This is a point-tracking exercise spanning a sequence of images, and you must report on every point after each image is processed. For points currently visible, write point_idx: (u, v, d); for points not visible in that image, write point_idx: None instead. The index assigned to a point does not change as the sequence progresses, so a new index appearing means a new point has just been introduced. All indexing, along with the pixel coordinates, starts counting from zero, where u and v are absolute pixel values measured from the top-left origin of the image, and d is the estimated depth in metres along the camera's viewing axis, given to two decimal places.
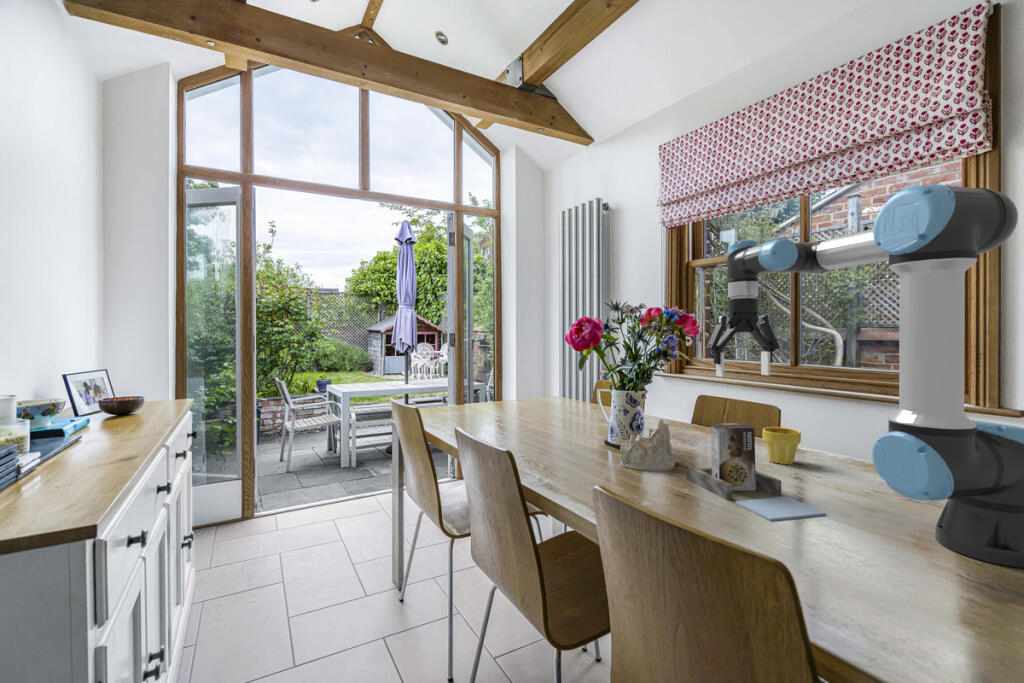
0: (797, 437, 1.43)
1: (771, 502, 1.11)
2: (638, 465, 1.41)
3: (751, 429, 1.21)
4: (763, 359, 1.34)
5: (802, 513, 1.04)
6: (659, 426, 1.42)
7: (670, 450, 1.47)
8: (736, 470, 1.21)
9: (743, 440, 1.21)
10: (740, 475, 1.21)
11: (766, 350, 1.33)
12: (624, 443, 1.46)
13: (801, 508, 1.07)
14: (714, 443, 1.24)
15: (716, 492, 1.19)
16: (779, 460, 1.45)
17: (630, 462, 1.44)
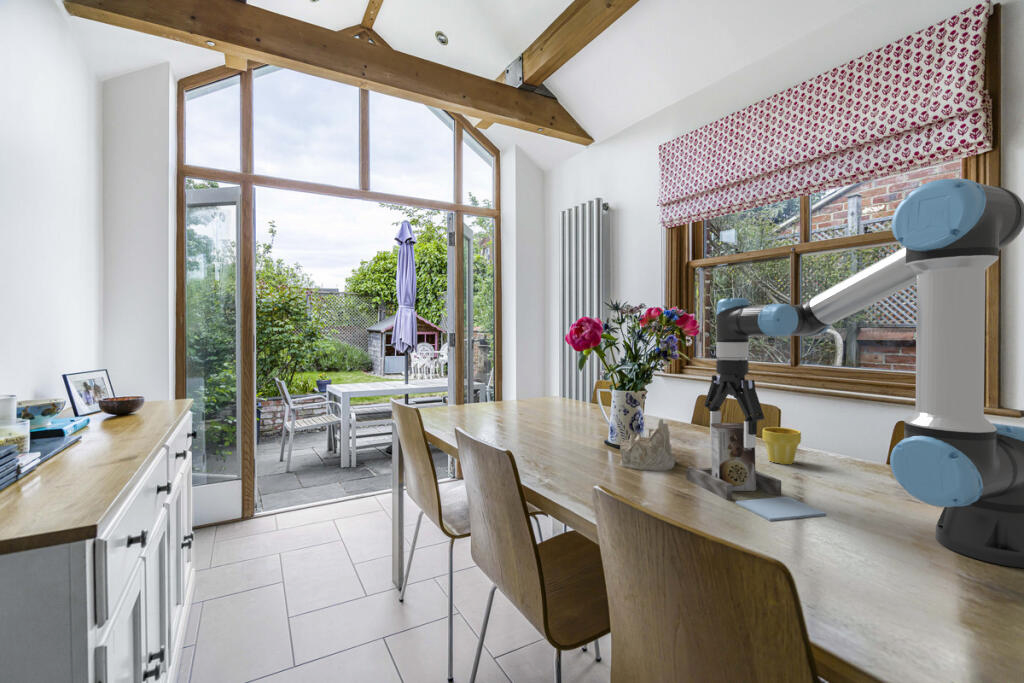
0: (797, 437, 1.43)
1: (771, 502, 1.11)
2: (638, 465, 1.42)
3: None
4: None
5: (802, 513, 1.04)
6: (659, 426, 1.43)
7: (670, 450, 1.47)
8: (736, 470, 1.21)
9: (743, 440, 1.21)
10: (740, 475, 1.21)
11: None
12: (624, 443, 1.47)
13: (801, 508, 1.07)
14: (714, 443, 1.24)
15: (716, 492, 1.19)
16: (779, 460, 1.45)
17: (630, 461, 1.44)
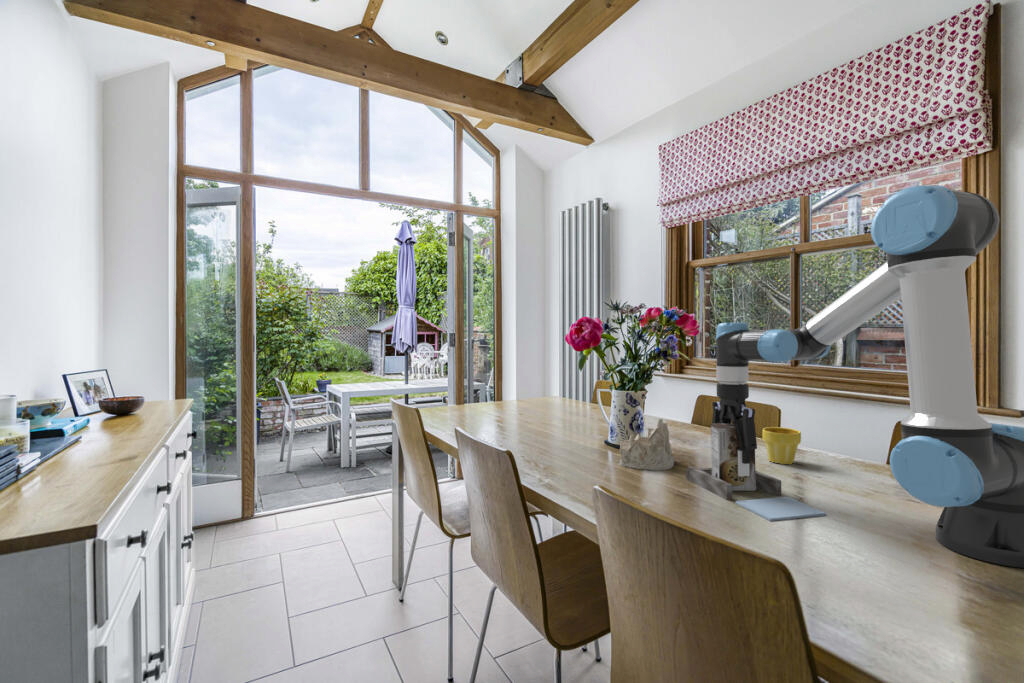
0: (797, 437, 1.43)
1: (771, 502, 1.11)
2: (637, 464, 1.42)
3: None
4: None
5: (802, 513, 1.04)
6: (658, 425, 1.43)
7: (669, 449, 1.48)
8: (736, 470, 1.21)
9: None
10: None
11: None
12: (623, 442, 1.47)
13: (801, 508, 1.07)
14: (714, 443, 1.24)
15: (716, 492, 1.19)
16: (779, 460, 1.45)
17: (629, 461, 1.44)
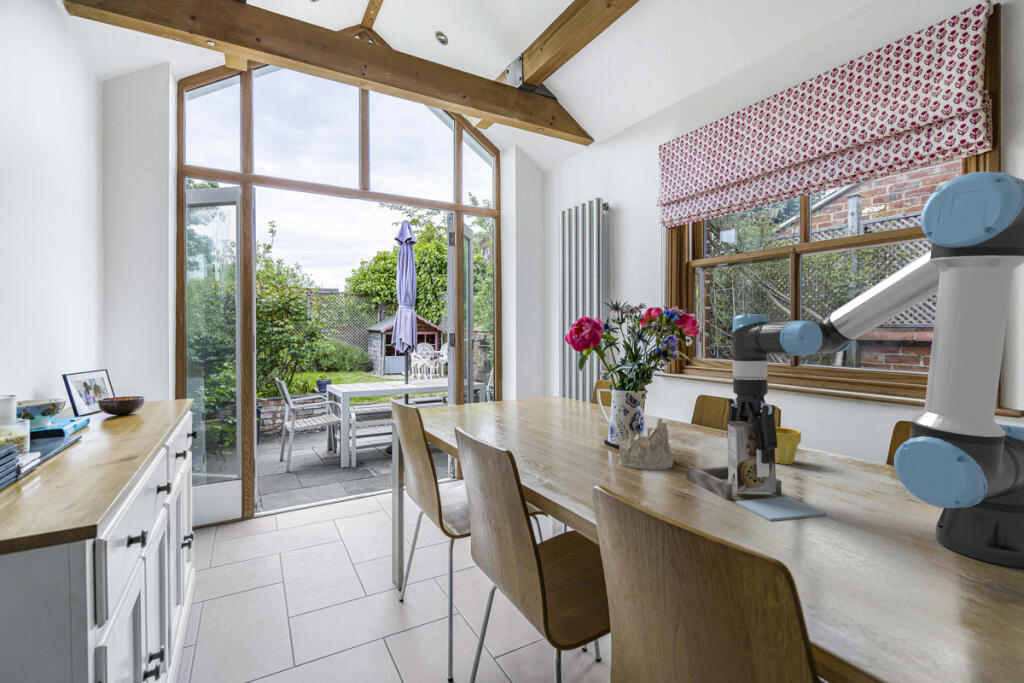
0: (797, 437, 1.43)
1: (771, 502, 1.11)
2: (637, 464, 1.43)
3: None
4: None
5: (802, 513, 1.04)
6: (658, 425, 1.44)
7: (668, 449, 1.48)
8: (755, 470, 1.14)
9: None
10: None
11: None
12: (623, 442, 1.48)
13: (801, 508, 1.07)
14: (731, 442, 1.18)
15: (716, 492, 1.19)
16: (779, 460, 1.45)
17: (629, 460, 1.45)
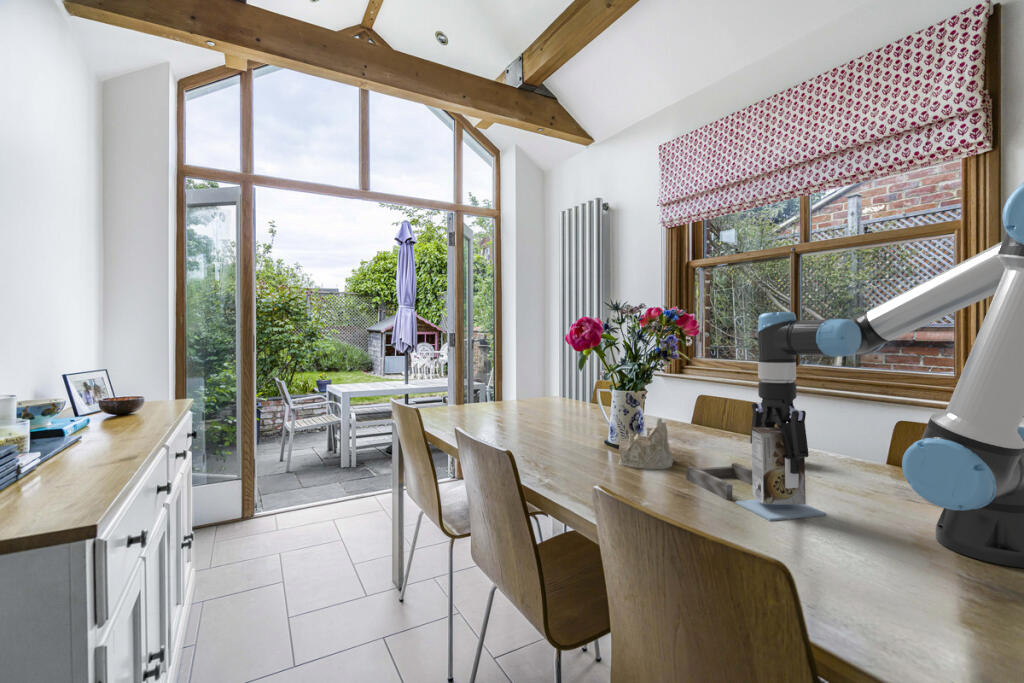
0: None
1: None
2: (637, 464, 1.43)
3: None
4: None
5: (802, 513, 1.04)
6: (657, 425, 1.44)
7: (668, 448, 1.49)
8: (783, 481, 1.06)
9: None
10: None
11: None
12: (623, 442, 1.48)
13: (801, 508, 1.07)
14: (757, 450, 1.09)
15: (716, 492, 1.19)
16: None
17: (629, 460, 1.45)
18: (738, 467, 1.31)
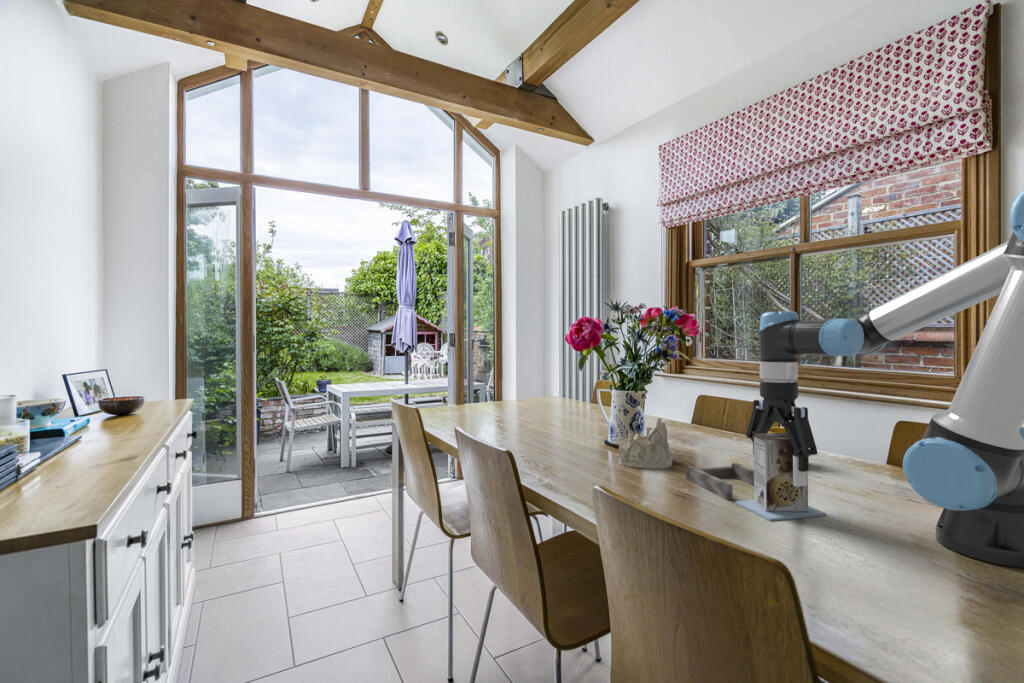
0: None
1: None
2: (636, 463, 1.43)
3: None
4: None
5: (802, 513, 1.04)
6: (657, 425, 1.45)
7: (667, 448, 1.49)
8: (786, 488, 1.05)
9: (794, 453, 1.05)
10: (790, 494, 1.05)
11: None
12: (623, 442, 1.48)
13: None
14: (759, 456, 1.08)
15: (716, 492, 1.19)
16: None
17: (629, 460, 1.46)
18: (738, 467, 1.31)
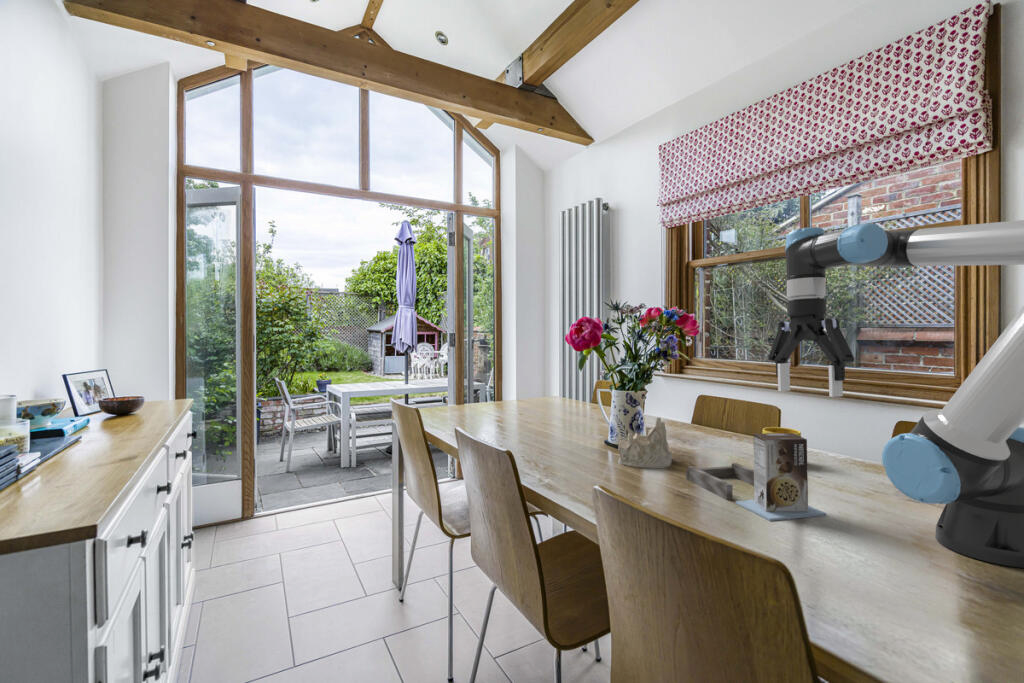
0: None
1: None
2: (636, 463, 1.44)
3: (803, 441, 1.05)
4: None
5: (802, 513, 1.04)
6: (656, 424, 1.45)
7: (667, 448, 1.50)
8: (786, 488, 1.05)
9: (794, 454, 1.05)
10: (790, 494, 1.05)
11: None
12: (622, 441, 1.49)
13: None
14: (759, 457, 1.08)
15: (716, 492, 1.19)
16: None
17: (628, 459, 1.46)
18: (738, 467, 1.31)
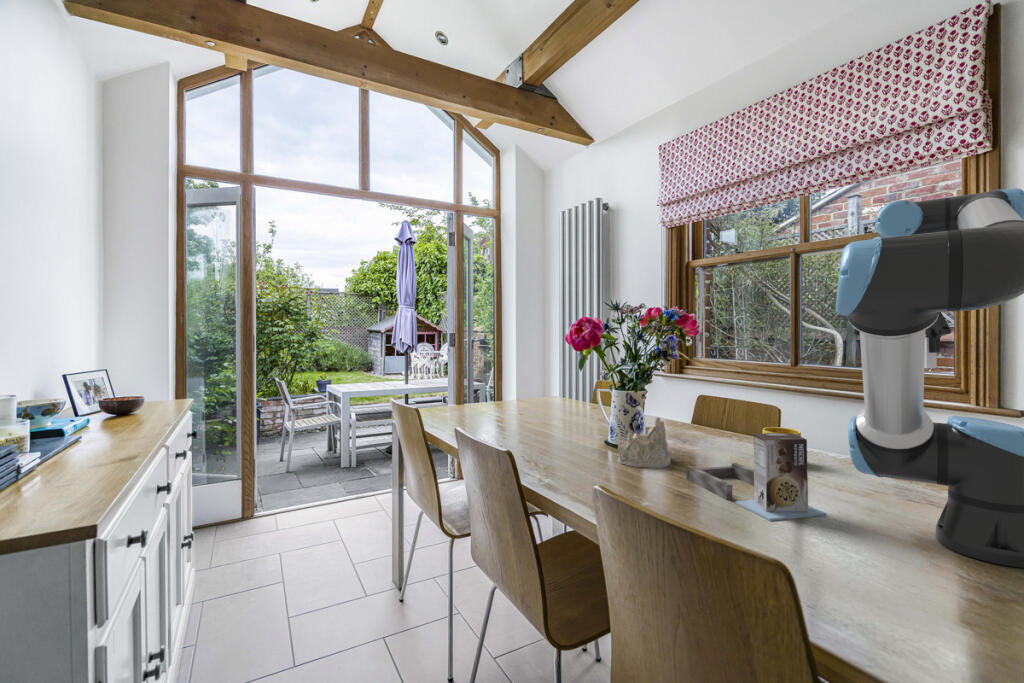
0: None
1: None
2: (636, 462, 1.44)
3: (803, 441, 1.05)
4: None
5: (802, 513, 1.04)
6: (656, 424, 1.46)
7: (666, 447, 1.51)
8: (786, 488, 1.05)
9: (794, 454, 1.05)
10: (790, 494, 1.05)
11: None
12: (622, 441, 1.49)
13: None
14: (759, 457, 1.08)
15: (716, 492, 1.19)
16: None
17: (628, 459, 1.47)
18: (738, 467, 1.31)
